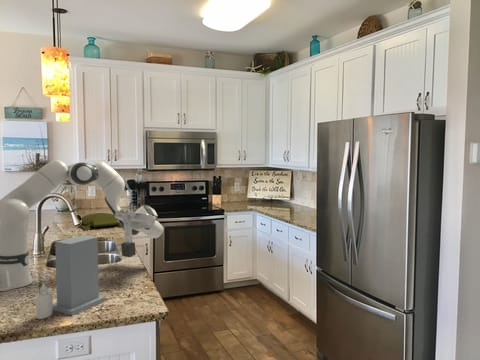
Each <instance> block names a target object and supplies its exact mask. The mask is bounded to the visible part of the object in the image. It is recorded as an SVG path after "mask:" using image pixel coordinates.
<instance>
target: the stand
mask: <svg viewBox="0 0 480 360" xmlns="http://www.w3.org/2000/svg"><path fill="white" fill-rule="evenodd" d="M98 239H99V237H98V236H91V235H78V236H75V237H70V238H69V237H68V238H66V239H61V240H56V241H55V243H54V244H55V280H56V286H55V287H56V302H54V303H52V305H53V312H57V313H58V312H59V313H62V314H65V315H69V316H74V315H77V314H78V313H81V312H83V311H86V310H88V309H90V308H93V307H96V306H98V305H99V304H102V303H104V302H106V297H105V296H103V295H100V293H99V291H100V290H99V289H100V288H99V240H98Z"/></svg>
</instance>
